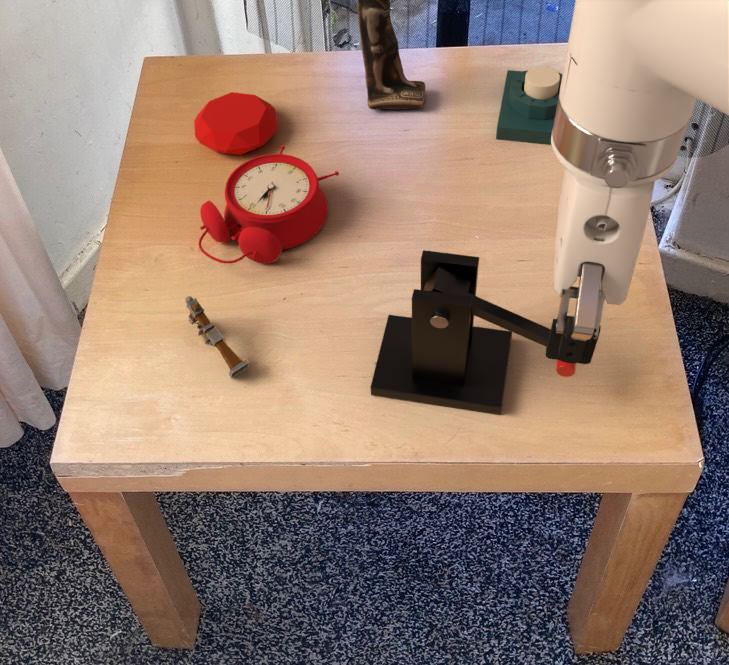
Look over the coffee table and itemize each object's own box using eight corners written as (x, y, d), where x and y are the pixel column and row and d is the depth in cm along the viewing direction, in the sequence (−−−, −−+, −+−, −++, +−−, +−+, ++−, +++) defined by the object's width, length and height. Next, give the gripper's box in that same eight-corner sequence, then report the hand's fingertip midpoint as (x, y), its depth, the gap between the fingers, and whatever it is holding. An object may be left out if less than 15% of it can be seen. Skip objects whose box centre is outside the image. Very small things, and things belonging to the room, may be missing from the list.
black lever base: (511, 339, 75) (524, 247, 66) (500, 415, 71) (513, 328, 61) (388, 322, 77) (385, 231, 68) (370, 395, 72) (363, 308, 63)
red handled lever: (569, 332, 70) (586, 318, 69) (564, 382, 67) (582, 368, 66) (427, 270, 68) (441, 253, 66) (417, 318, 65) (430, 302, 63)
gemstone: (196, 114, 96) (190, 92, 94) (274, 103, 97) (271, 81, 95) (199, 166, 91) (193, 144, 89) (282, 155, 92) (278, 132, 89)
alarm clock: (353, 170, 84) (252, 236, 75) (348, 222, 88) (252, 291, 79) (272, 133, 88) (167, 191, 79) (271, 185, 92) (171, 246, 83)
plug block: (577, 88, 96) (582, 62, 93) (571, 146, 90) (576, 120, 87) (506, 82, 97) (508, 55, 95) (495, 139, 91) (498, 112, 89)
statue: (425, 113, 95) (427, -62, 79) (362, 115, 95) (351, -59, 79) (425, 90, 97) (426, -85, 81) (363, 91, 98) (352, -82, 82)
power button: (559, 81, 92) (561, 67, 91) (556, 101, 90) (558, 88, 88) (525, 78, 93) (527, 64, 91) (522, 98, 90) (523, 85, 89)
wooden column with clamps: (194, 306, 78) (195, 288, 74) (245, 375, 77) (250, 361, 73) (177, 316, 77) (178, 298, 73) (228, 386, 76) (232, 372, 72)
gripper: (685, 239, 45) (618, 410, 59) (682, 45, 55) (626, 230, 69) (541, 221, 46) (509, 393, 60) (564, 35, 56) (532, 218, 70)
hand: (572, 306), depth 64 cm, fingers open, 9 cm apart
